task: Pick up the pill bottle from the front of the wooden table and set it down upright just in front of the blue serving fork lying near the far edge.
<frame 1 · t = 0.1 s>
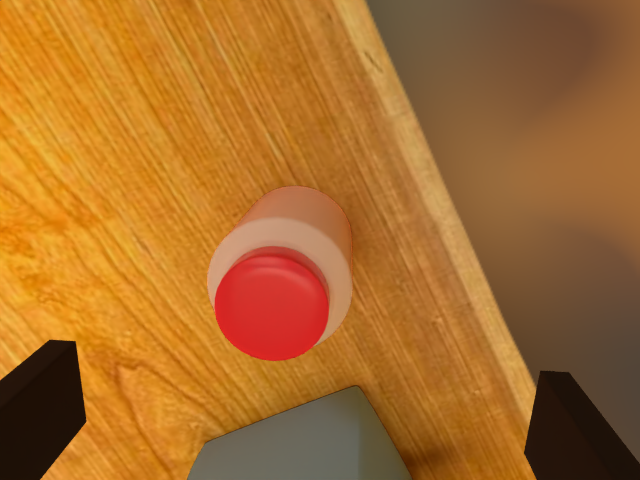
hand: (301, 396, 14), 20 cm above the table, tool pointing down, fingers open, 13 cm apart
pill bottle: (296, 239, 33), on the table
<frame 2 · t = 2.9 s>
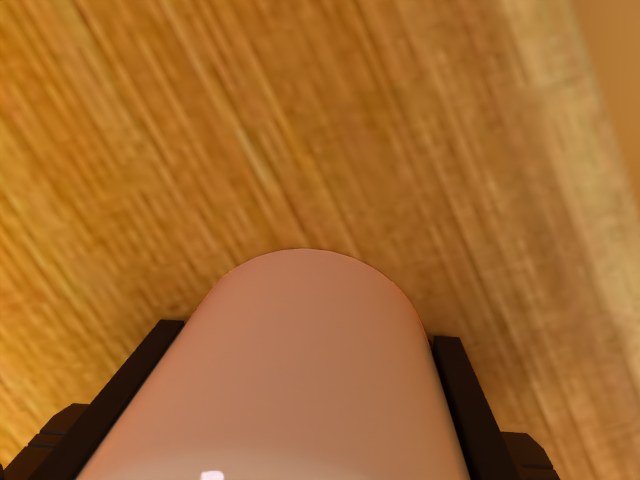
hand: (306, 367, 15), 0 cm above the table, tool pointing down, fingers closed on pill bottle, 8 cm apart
pill bottle: (307, 358, 15), on the table, touching gripper
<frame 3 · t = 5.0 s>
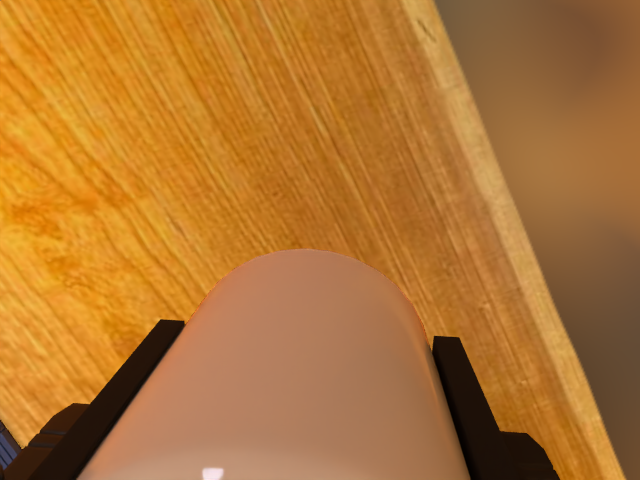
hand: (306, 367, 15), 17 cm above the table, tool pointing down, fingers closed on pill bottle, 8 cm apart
pill bottle: (308, 358, 15), point 17 cm above the table, touching gripper
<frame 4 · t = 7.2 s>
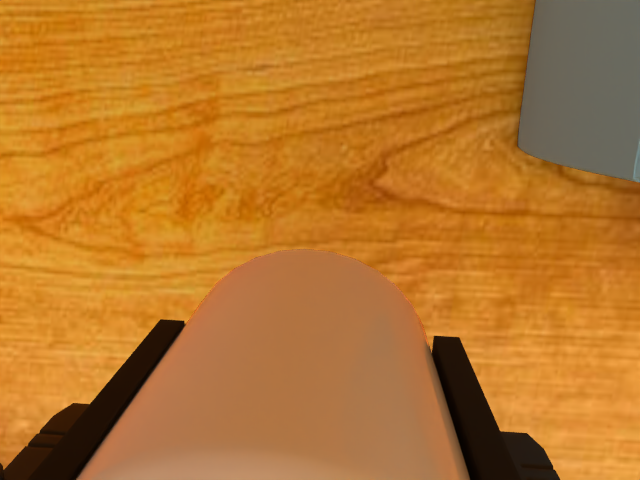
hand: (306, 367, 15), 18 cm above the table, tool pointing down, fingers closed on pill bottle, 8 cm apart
pill bottle: (307, 359, 15), point 18 cm above the table, touching gripper
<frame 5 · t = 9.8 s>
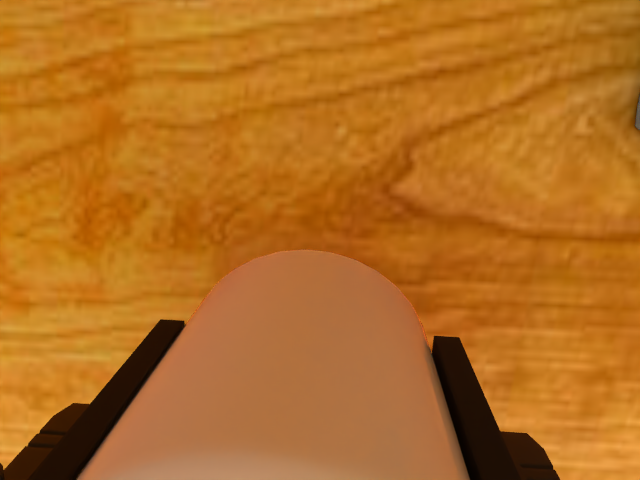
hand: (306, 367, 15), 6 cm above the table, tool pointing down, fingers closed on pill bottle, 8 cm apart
pill bottle: (307, 359, 15), point 6 cm above the table, touching gripper
when the fingers open (0 cm above the table, at t = 11.6 s): pill bottle stays where it is, on the table.
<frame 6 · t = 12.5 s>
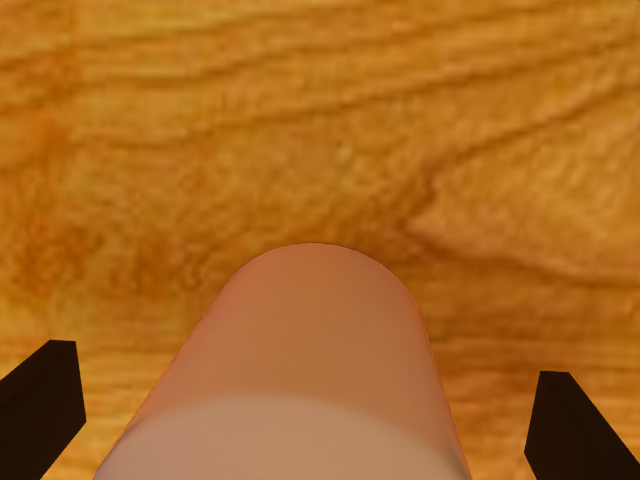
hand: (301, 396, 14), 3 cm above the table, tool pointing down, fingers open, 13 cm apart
pill bottle: (315, 344, 17), on the table
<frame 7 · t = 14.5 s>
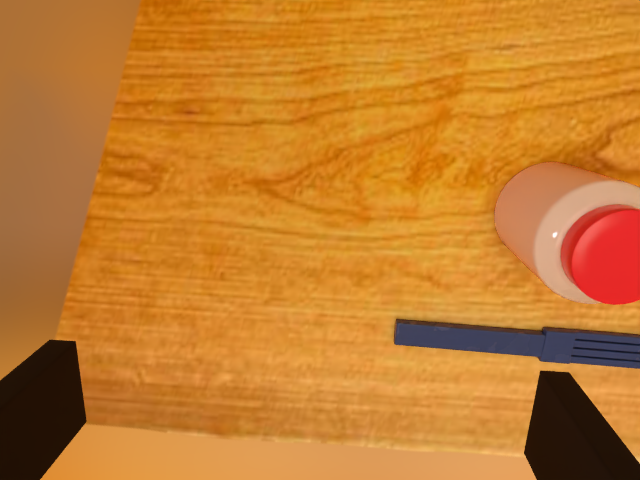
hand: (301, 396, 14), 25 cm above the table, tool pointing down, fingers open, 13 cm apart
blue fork: (521, 340, 40), on the table
pill bottle: (544, 211, 37), on the table
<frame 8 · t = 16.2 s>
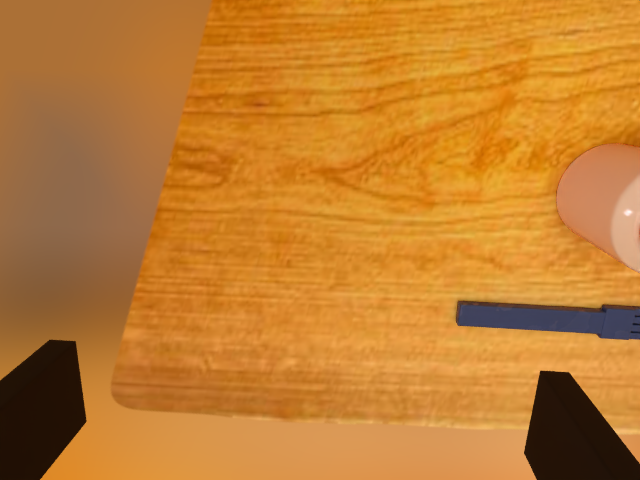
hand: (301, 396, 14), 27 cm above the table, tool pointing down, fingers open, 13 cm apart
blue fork: (580, 318, 41), on the table
pill bottle: (605, 192, 38), on the table
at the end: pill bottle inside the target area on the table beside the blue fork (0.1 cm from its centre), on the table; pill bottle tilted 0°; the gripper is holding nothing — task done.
